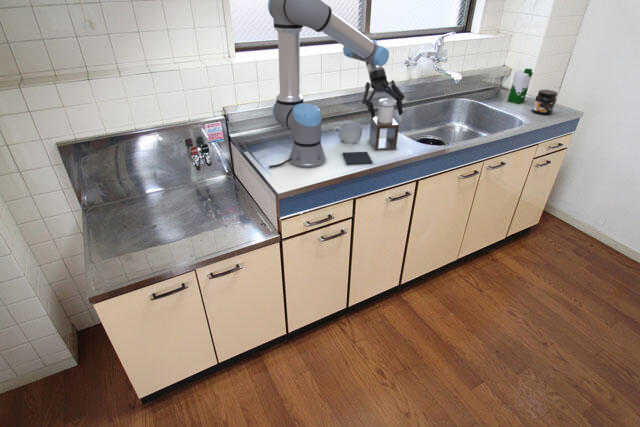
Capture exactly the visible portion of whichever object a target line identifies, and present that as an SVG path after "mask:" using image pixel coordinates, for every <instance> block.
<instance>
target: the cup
mask: <svg viewBox="0 0 640 427" xmlns="http://www.w3.org/2000/svg"><path fill="white" fill-rule="evenodd" d="M377 104H378V105H377V115H376V116H377V121H378V122H380V123H391V122H393V118H394V113H395V105H396V100H395V99H391V98H380V99H379V100H378V103H377Z"/></svg>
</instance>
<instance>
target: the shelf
mask: <svg viewBox="0 0 640 427" xmlns="http://www.w3.org/2000/svg"><path fill="white" fill-rule="evenodd" d="M399 128H400V124H399V123H398V122H397V121H396V119H395V118H394V117H393V122H391V123H380V122H378V121H377V115H375V117H374V118H372V117H371V116H370V125H369V137H368V138H369V139H368V141H369V143H370V144H371V146H372V148H373V150H374V151H375V152H376V151H396V150H397V144H398V136H399ZM384 129H385V130H386V137H380V136H381V130H384Z"/></svg>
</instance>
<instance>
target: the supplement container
mask: <svg viewBox="0 0 640 427" xmlns="http://www.w3.org/2000/svg"><path fill="white" fill-rule="evenodd" d="M535 96H536V97H535V100H534V102H533V106H532V109H531V110H532V112H533V113H534V114H536V115H540V116H549V115H551V114H552V113H553V110H554V108H555V104H556V101H557V96H558V91H555V90H553V89H552V90H551V89H540V90H538V93H537V95H535Z"/></svg>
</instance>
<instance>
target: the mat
mask: <svg viewBox="0 0 640 427" xmlns="http://www.w3.org/2000/svg"><path fill="white" fill-rule="evenodd" d="M342 155H343V159H344V161H345V163H346V165H347V166H354V165H357V166H358V165H372V164H373V161H372V159H371V157H370V155H369V153H368V151H352V152H350V151H349V152H342Z"/></svg>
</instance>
